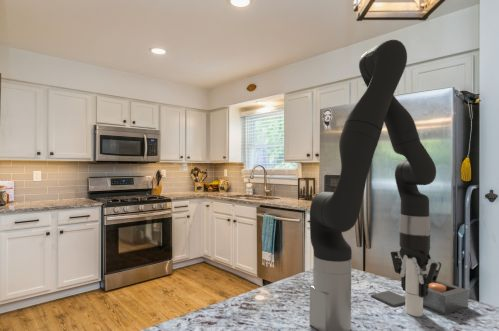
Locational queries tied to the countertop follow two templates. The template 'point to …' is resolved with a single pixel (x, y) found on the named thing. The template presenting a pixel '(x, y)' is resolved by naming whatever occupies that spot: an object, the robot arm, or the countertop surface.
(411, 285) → the tube
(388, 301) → the pad
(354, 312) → the countertop surface
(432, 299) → the frame
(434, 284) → the orange dome
